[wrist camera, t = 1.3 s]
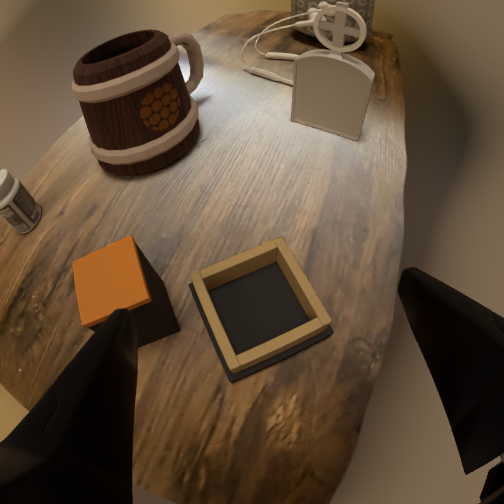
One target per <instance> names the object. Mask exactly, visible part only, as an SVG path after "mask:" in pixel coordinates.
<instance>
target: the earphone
mask: <svg viewBox="0 0 504 504" xmlns="http://www.w3.org/2000/svg"><path fill="white" fill-rule="evenodd" d="M318 6H319V8H320V9H316V8H310V9H308V11H307V13H303V14H299V15H295V16H292V17H288V18H285V19H283V20H280V21H278V22H276V23H274V24H272V25H270V26H268V27H267V28H266V29H265V30H263V31H262V32H261V33H260V34H257V35H255V36H253V37H252V38H250V39H249V40H248V41H247V42H246V43H245V44H244V46H243V49H242V51H241V60H242V62H243V64H244V65H245V66H246V67H247V68H248V69H250V70H249V71H250V73H253V74H256V75H259V76H262V77H265V78H268V79H271V80H274V81H280V82H285V83H287V84H290V85H293V81H291V80H288V79H285V78H283V77H281V76H280V75H278V74H275V73H272V72H269V71H266V70H263V69H260V68H257V67H253V66H252V67H251V68H250V67H248V66H247V65H246V64H245V62H244V60H243V51H244V48H245V46H246V45H247V43H248V42H249V41H250V40H252V39H253V38H255V37H257V36H258V38H257V40H256V42H255V48H256V50H257V51H258V52H259V53H260V54H262V55H265V56H267V58H272V59H285V60H296V59H297V58H298V57H299V55H296V54H289V53H277V52H268V53H267V54H264V53H261V52H260V51H259V50H258V49H257V41H258V39H259V38H260V36H261V35H262V34H265V33H268V32H271V31H274V30H278V29H282V28H287V27H292V26H296V27H302V26H311V25H313V22H314V19H315V16H316V15H317V14H318V13H319V12H320V11H321V10H323V9H324V8H327V7H329V6H332V5H330V4H328V3H327V2H325V1H322V2H320V3H319V5H318ZM306 14H308V16H309V18H310V20H308V21H300V22H296V23H295V24H293V25H288V26H283V27H279V28H275V29H271V30H268V31H266V30H267V29H268V28H270V27H271V26H273V25H275V24H277V23H279V22H282V21H284V20H287V19H290V18H294V17H297V16H301V15H306ZM326 15H327V16H334V15H335V11H330V12H327V13H326ZM321 21H326V18H325V17H324V16H323V17H322V19H321Z"/></svg>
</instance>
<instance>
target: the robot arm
mask: <svg viewBox="0 0 504 504" xmlns="http://www.w3.org/2000/svg"><path fill="white" fill-rule="evenodd" d="M398 294H399V297H400V300H401V302H402V305H403V307H404V310H405V313H406V316H407V319H408V322H409V324H410V327H411V329H412V332H413V334H414V336H415V339H416V341H417V343H418V345H419V347H420V349H421V352H422V354H423V356H424V359H425V361H426V363H427V366H428V368H429V370H430V373H431V375H432V378H433V380H434V383H435V385H436V388H437V390H438V392H439V395H440V398H441V401H442V403H443V406H444V409H445V412H446V414H447V417H448V420H449V423H450V426H451V429H452V432H453V435H454V438H455V442H456V445H457V448H458V451H459V454H460V458H461V461H462V465H463V469H464V472H465V474H466V475H467V474H469V473H471V472H473V471H475V470H476V469H478V468H480V467H482V466H483V465H485V464H487V463H488V462H490V461H492V460H493V459H495V458H497V457H498V456H500V457H501V459H502V461H500V462H499V463H498V464H497V465H495V466H494V467H493V468H491V469H490V470H489V472H488V475H487V479H486V481H485V485H484V487H483V490H482V492H481V495H480V500H481V502H480V503H479V504H504V318H503V317H501V316H499V315H498V314H496V313H495V312H492V311H491V310H490V309H488V308H486V307H484V306H483V305H481V304H480V303H478V302H476V301H474V300H473V299H471V298H469V297H468V296H466V295H464V294H462V293H461V292H459V291H457V290H455V289H454V288H452V287H450V286H448V285H447V284H445V283H443V282H441V281H439V280H438V279H436V278H434V277H432V276H430V275H428V274H427V273H425V272H423V271H421V270H419V269H417V268H415V267H409V268H405V269H403V271H402V274H401V277H400V281H399V284H398ZM137 375H138V329H137V325H136V323H135V321H134V319H133V317H132V315H131V313H130V311H129V309H127V308H119V309H115V310H114V311H113V312H112V313H111V315H110V316H109V317H108V318H107V319H106V320H105V321H104V322H103V324H102V325H101V326H100V327H99V328H98V329H97V331H96V332H95V333H94V334H93V335H92V336H91V338H90V339H89V340H88V341H87V342H86V343H85V345H84V346H83V347H82V348H81V349H80V351H79V352H78V353H77V354H76V355H75V357H74V358H73V359H72V360H71V361H70V363H69V364H68V365H67V366H66V368H65V369H64V370H63V371H62V372H61V374H60V375H59V376H58V377H57V379H56V380H55V381H54V383H53V384H52V385H51V386H50V387H49V389H48V390H47V391H46V393H45V394H44V395H43V396H42V398H41V399H40V400H39V401H38V403H37V404H36V405H35V406H34V407H33V408H32V409H31V411H30V412H29V413H28V414H27V415H26V416H25V417H24V418H23V420H22V421H21V422H20V423H19V424H18V425H17V426H16V428H15V429H14V430H13V431H12V432H11V433H10V434H9V435H8V436H7V437H6V438H5V439H4V440H3V441H1V442H0V504H133V495H132V453H133V428H134V411H135V398H136V387H137Z"/></svg>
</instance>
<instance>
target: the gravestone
mask: <svg viewBox="0 0 504 504" xmlns="http://www.w3.org/2000/svg"><path fill="white" fill-rule="evenodd" d="M330 11H335V21H334V23H331V22H326V21H321V19H322V17H323V16H324V15H325V14H326V13H327V12H330ZM348 14H349V15H350V16H352V17H353V18H354V19H355V20H356V22H357V23H358V25H359V27H360V29H356V28H353V27H349V26H347V17H348ZM313 29H314V33H315V35H316V37H317V38H318V40H319V41H320V42H321V43H322V44H323V45H324V46H326V47H327V48H329V49H331V50H312V51H308V52H305V53H303V54H301V55H300V56H299V57H298V58H297V59H296V60H295V61H294V73H293V92H292V109H291V121H293V122H297V123H300V124H304V125H307V126H311V127H314V128H317V129H320V130H324V131H327V132H330V133H333V134H336V135H339V136H342V137H345V138H348V139H351V140H353V141H356V142H357V141H358V138H359V135H360V133H361V129H362V125H363V122H364V118H365V114H366V110H367V106H368V102H369V98H370V94H371V89H372V85H373V81H374V76H375V73H374V72H373V71H372V70H371V69H370V68H369V67H368V66H367V65H366V64H364V63H363V62H362V61H360V60H358V59H356V58H355V57H352V56H350V55H347V54H344V53H343V52H350V51H353V50H356V49H357V48H359V47H360V46H361V45H362V43H363V41H364V40H365V38H366V34H367V29H366V24H365V22H364V20H363V19H362V17H361V16H360V15H359V14H358V13H357V12H356V11H354V10H353V9H351V8H349V4H348V3H344V2H339V1H338V2H336V5H333V6H329V7H327V8H324V9H323V10H321V11H320V12H319V13H318V14H317V15H316V16H315V19H314V22H313ZM321 29H325V30H330V31H333V40H332V42H331V41H330V40H328V39H327V38H326V37H325V35H324V34H323V32H322V30H321ZM345 34H347V35H351V36H354V37H358V38H359V40H358V41H357V42H355V43H354V44H351V45H347V46H344V42H345Z"/></svg>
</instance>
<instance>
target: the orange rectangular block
mask: <svg viewBox="0 0 504 504" xmlns="http://www.w3.org/2000/svg"><path fill="white" fill-rule="evenodd" d="M73 271H74V279H75V287H76V293H77V300H78V306H79V311H80V317H81V322H82V326H84V327H85V328H89V329H91V330H93V331H95V332H96V331H97V329H98V328H99V327H100V326H101V325H102V324H103V322H104V321H105V320H106V319H107V318H108V317H109V316H110V315H111V313H112V312H113V311H114V310H115V309H119V308H127V309H129V311H130V313H131V315H132V317H133V319H134V321H135V323H136V325H137V329H138V347H141V346H143V345H146V344H148V343H151V342H153V341H156V340H158V339H161V338H163V337H166V336H168V335H171V334H173V333H176V332H178V331H180V328H179V325H178V322H177V320H176V317H175V314H174V311H173V309H172V306H171V303H170V300H169V297H168V294H167V291H166V289H165V286H164V283H163V281H162V280H161V278H160V277H159V276H158V274H157V273H156V271H155V270H154V269H153V267H152V266H151V264H150V263H149V261H148V260H147V259H146V257H145V256H144V254H143V253H142V251H141V250H140V248H139V247H138V246H137V244H136V243H135V240H134V238H133V237H132V235H130V236H128V237H126V238H123V239H121V240H119V241H117V242H114V243H112V244H110V245H108V246H106V247H104V248H101V249H99V250H97V251H95V252H93V253H91V254H89V255H87V256H84V257H82V258H80V259H78V260H76V261H74V262H73Z"/></svg>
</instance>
